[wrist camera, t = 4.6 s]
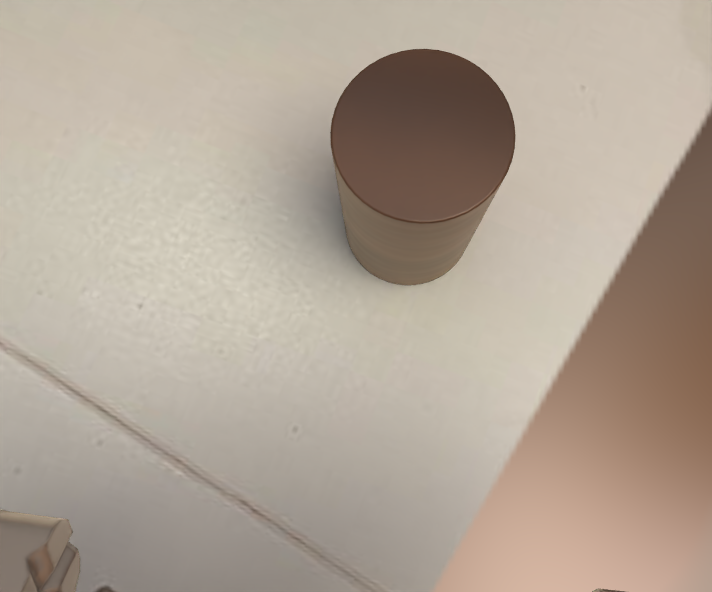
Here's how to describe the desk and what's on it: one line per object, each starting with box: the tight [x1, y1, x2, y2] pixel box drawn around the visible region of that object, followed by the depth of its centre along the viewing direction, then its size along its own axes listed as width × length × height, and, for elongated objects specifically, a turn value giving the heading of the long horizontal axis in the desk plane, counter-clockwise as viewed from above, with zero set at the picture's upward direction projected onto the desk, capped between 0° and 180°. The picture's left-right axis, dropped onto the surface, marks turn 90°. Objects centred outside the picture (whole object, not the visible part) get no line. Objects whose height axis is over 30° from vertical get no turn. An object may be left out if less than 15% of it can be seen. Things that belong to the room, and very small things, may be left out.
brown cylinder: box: [330, 49, 515, 285], centre depth 20 cm, size 4×4×8 cm
